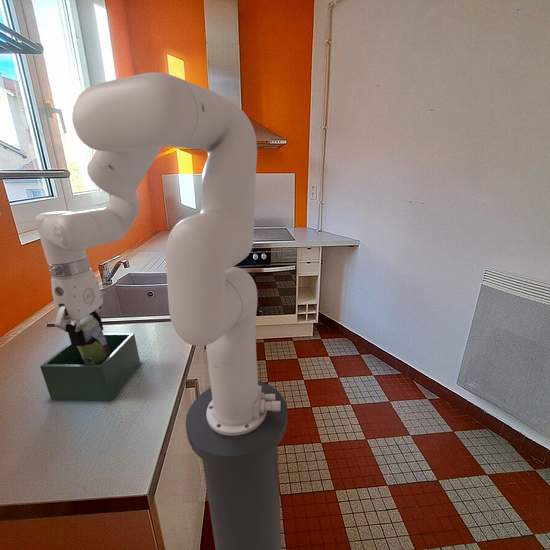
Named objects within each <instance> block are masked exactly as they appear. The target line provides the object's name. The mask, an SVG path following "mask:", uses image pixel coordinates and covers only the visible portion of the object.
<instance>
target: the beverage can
mask: <svg viewBox="0 0 550 550" xmlns="http://www.w3.org/2000/svg"><path fill="white" fill-rule="evenodd" d="M71 325H74V321H71ZM80 330H83V333H84V337H85V340H86V345H85V346H77V348H78V350H79V352H80V354H81V356H82V358H83V360H84V362H85V363H86V364H97V363H100V362H102V361H104V360H105V359H106V358H107V357H108V356H109V354H110V349H109V346H108V344H107V341H106V339H105V337H104V334H103V333H104V332H103V330H101V327H100V325H99V323H98V320H97V319H96V318H94V317H93V316H92V315H88V316H86V317H85V318H83V319H81V320H80Z"/></svg>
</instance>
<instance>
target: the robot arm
mask: <svg viewBox="0 0 550 550" xmlns="http://www.w3.org/2000/svg"><path fill="white" fill-rule="evenodd" d="M71 115H72V116H71V119H72V124H73V129H74V131H75V134H76V135H77V137H78V139H79V140H80V141H81V142H82V143H83V144H84V145H86V146H87V147H88V148H90V149H92V150H94V151H93V153H92V156H91V157H90V160H89V162H88V163H87V167H86V170H87V175H88V177H89V178H90V180H91V181H92V182H93V184H94V185H95V186H96V187H97V188H99V189H100V190H102V191H104V192H105V193H107V194H109V195H111V196H110V198H109V199H108V200H107V203H106V204H105V205H104V207H102V208H94V209H89V210H88V209H87V210H81V211H74V212H73V211H69V210H56V211H46V212H42V213H39V214H38V215H37V214H36V217H35V220H34V221H35V226H36V229H37V233H38V236H39V240H40V243H41V246H42V250H43V253H44V257H45V260H46V264H47V267H48V270H49V271H48V272H49V275H50V277H51V279H50V286H51V294H52V300H53V303H54V308H55V311H56V312H55V313H56V314H57V315H56V317H55V321H54V327H55V328H58V329H60V330H62V331H64V332H65V333H67V334H68V338H69V341H70V343H71V344H72V346H85V345H86V340H85V337H84V333H83V330H80V320H81V319H83V318H85V317H86V316H88V315H92V316H93V317H94V318H96V319H97V320H98V323H99V325H100V327H101V330H102V331H104V326H103V322H102V317H101V316H102V311H101V309H102V305H103V303H104V296H103V294H102V290H101V287H100V285H99V281H98V278H97V277H96V275H95V272H94V270H93V269H92V268H93V267H90V262H89V258H88V253H87V249H91V248H95V247H97V246H102V245H105V244H109V243H113V242H117V241H119V240H121V239H123V237H125V236H126V235H127V234H128V232H129V231H130V229H131V228H132V227H133V225H134V223H135V222H136V220H137V218H138V216H139V212H140V201H139V195H138V192H137V190H138V188H139V186H140V184H141V183H142V181H143V179H144V178H145V176H146V175H147V173H148V172H149V170H150V168H151V167H152V165H153V163H154V161H155V160H156V158H157V157H158V155H159V153H160V152H161V151H162V148H163V147H169V148H182V149H193V150H195V149H197V150H203V151H205V152H206V153H207V158H206V161H205V164H204V166H203V170H202V174H201V180H200V191H201V206H200V212H199V213H197V214H193V215H189V216H186V217H185V218H183V219H181V220H180V221H179V222H177V223H176V224H175V225H174V226H173V227H172V229H171V231H170V233H169V235H168V238H167V241H166V244H165V267H166V269H165V270H166V286H167V301H168V303H167V304H168V311H169V317H170V322H171V324H172V327H173V329H174V331H175V332H176V334H177V335H178V337H179V338H180V339H181V340H183V341H184V342H185V343H187V344H188V345H191V346H193V347H205V348H206V358H207V366H208V375H209V381H210V388H211V391H212V399H213V400H212V401H211V402H210V404H209V405H208V408H207V413H206V416H207V421H208V424H209V426H210V427H211V428H212V429H213V430H214V431H215V432H217V433H219V434H222V435H226V436H239V435H243V434H246V433H249V432H251V431H253V430H254V429H256V428H257V427H258V426H260V424H261V423H262V422H263V421H264V419H265V417H266V414H267V411H280V409H281V402H280V401H275V394H264V393H262V390H261V386H258V381H259V376H258V375H259V374H258V360H257V359H258V358H257V357H258V356H257V335H256V333H257V332H256V326H257V325H256V322H257V321H256V320H257V312H258V289H257V288H258V287H257V285H256V282H255V280H254V278H253V277H252V275H250V273H248V271H246V270H245V269H243V268H241V267H237V265H239V263H241V262H242V261H244V260H245V259H246V258H247V257H248V256H249V255H250V253H251V252H252V250H253V246H254V237H255V235H254V233H255V209H256V206H255V205H256V176H257V161H258V159H257V158H258V143H257V136H256V133H255V129H254V126H253V123H252V121H251V120H250V118H249V116H248V115H247V114H246V113H245V111H244V110H242V108H240V107H239V106H238V105H237V104H235V103H234V102H233V101H232V100H230V99H228V98H227V97H225V96H223V95H221V94H219V93H217V92H215V91H212V90H210V89H208V88H206V87H203V86H200V85H198V84H195V83H192V82H190V81H187V80H185V79H182V78H180V77H177V76H175V75H172V74H169V73H164V72H159V71H158V72H157V71H152V72H151V71H150V72H143V73H139V74H134V75H131V76H126V77H121V78H117V79H113V80H108V81H104V82H99V83H96V84H93V85H91V86H89V87H87V88H86V89H84V90H83V91H81V92H80V94H79V95H78V96H77V98H76V100H75V102H74V104H73V107H72V114H71ZM72 321H74V325H71V322H72ZM265 400H269V401H272V402H268V401H265Z"/></svg>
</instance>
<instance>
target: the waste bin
mask: <svg viewBox="0 0 550 550" xmlns="http://www.w3.org/2000/svg"><path fill="white" fill-rule="evenodd" d="M103 334H104V337H105V339H106V341H107V344H108V346H109V349H110V354H109V356H108V357H107V358H106V359H105V360H104V361H102V362H100V363H97V364H86V363H85V362H84V360H83V358H82V356H81V354H80V352H79V350H78V348H77V346H72V344H71V342H69V343H68V344H67V345H66V346H64V347H63V348H61V349H60V350H59V351H57V352H56V353H55V354H53V355H52V356H51V357H50V358H49V359H48V360H46V361H45V362H43V363H42V364H41V365H40V366H39V367H40V371H41V374H42V376H43V379H44V382H45V386H46V389H47V391H48V394H49V398H50V400H51V401H82V402H83V401H94V402H111V401H112V400H113V399H114V398H115V396H116V395H117V394H118V393H119V392H120V390H121V389H122V387H123V386H124V385H125V384H126V382H127V381H128V380H129V378H130V377H131V376H132V375H133V374H134V372H135V371H136V370H137V368H138V367H139V366H140V364H141V360H140V355H139V349H138V345H137V340H136V336H135V333H133V332H131V333H129V332H127V333H126V332H125V333H123V332H120V333H119V332H117V333H116V332H113V333H112V332H111V333H110V332H109V333H107V332H105V333H104V332H103Z"/></svg>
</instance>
